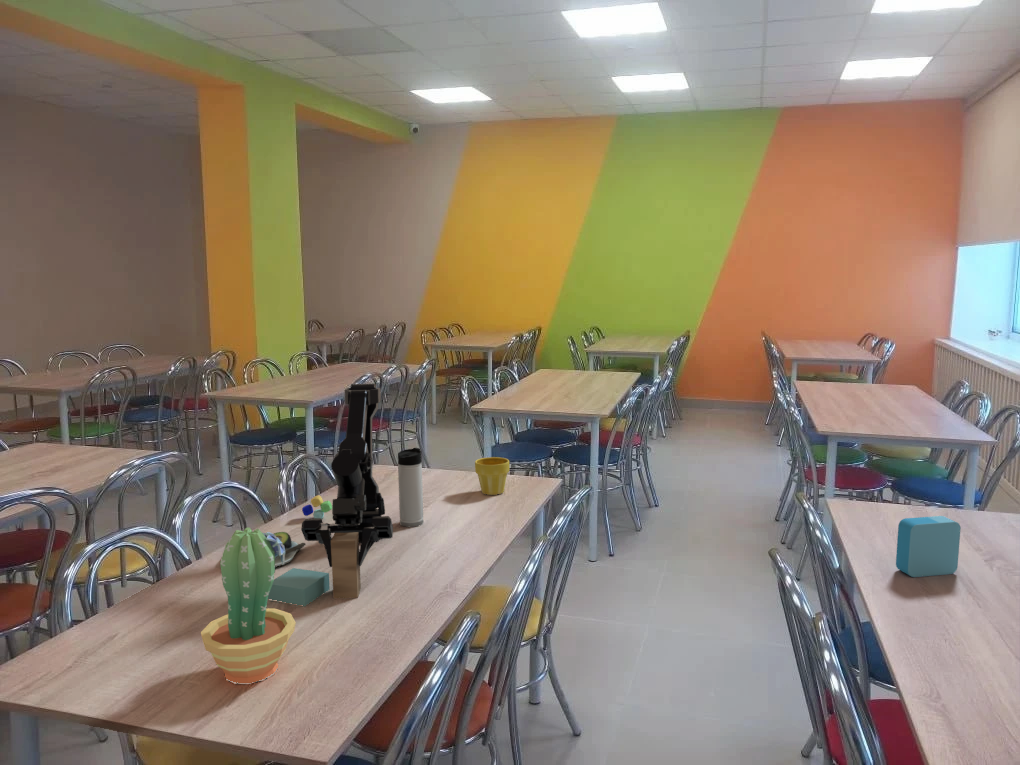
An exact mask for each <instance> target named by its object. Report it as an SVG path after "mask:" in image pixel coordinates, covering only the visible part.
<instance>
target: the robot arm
mask: <svg viewBox="0 0 1020 765" xmlns="http://www.w3.org/2000/svg"><path fill="white" fill-rule="evenodd" d="M376 386H377V385H376V383H351V384H350V387H348V388H345V389H344V404H345V405H348V413H347V421H346V422H347V423H346V433H345V438H344V439H343V440H342V441H341V442H340V443H339V445H338V453H336V454H335V456H334V457H333V460H332V461H331V465H330V466H331V467H330V468H331V470H332V474H333V477H334V481H335V484H336V486H337V492H336V493H337V494H336V495H337V496H336V498H333V499H332V502H331V504H332V509H331V512H332V513H331V515H332V520H333V521H334V523H328V522H323V519H321V518H314V517H313V518H304V519H303V521H302V522H301V528H300V529H301V530H300V531H301V533H302V535H303V538H304V540H305V541H308V542H318V544H320V545H323V546H324V549H325V552H326V553H325V554H326V557H327V561H328V564H329V568H332V556H331V540H332V538H333V537H332V534H334V533H348V532H359V544H360V545H359V558H358V565H359V566H360V567H361V566H362V564H363V562H364V561H365V559H366V556H367V554H368V552H369V551H370V549H371V548H372V546H373V545H374V544H375V543H378V542H379V541H380V539H381V540H382V539H385V540H386V539H387V540H388V539H389V540H390V539H392V538H393V537H394V535H393V532H394V531H393V530H394V527H393V522H392V517H390V516H389V515H385V514H386V509H385V508H386V507H385V499H384V497H383V496H382V493H381V492H379V490H380V488H379V487H380V486H379V485H378V483H377V481H376V480H375V478H374V476H373V463H374V458H373V418H374V416H375V415H376V413H377V412H378V410H379V403H380V402H381V399H382V398H381V395H382V393H381V387H376Z"/></svg>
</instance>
